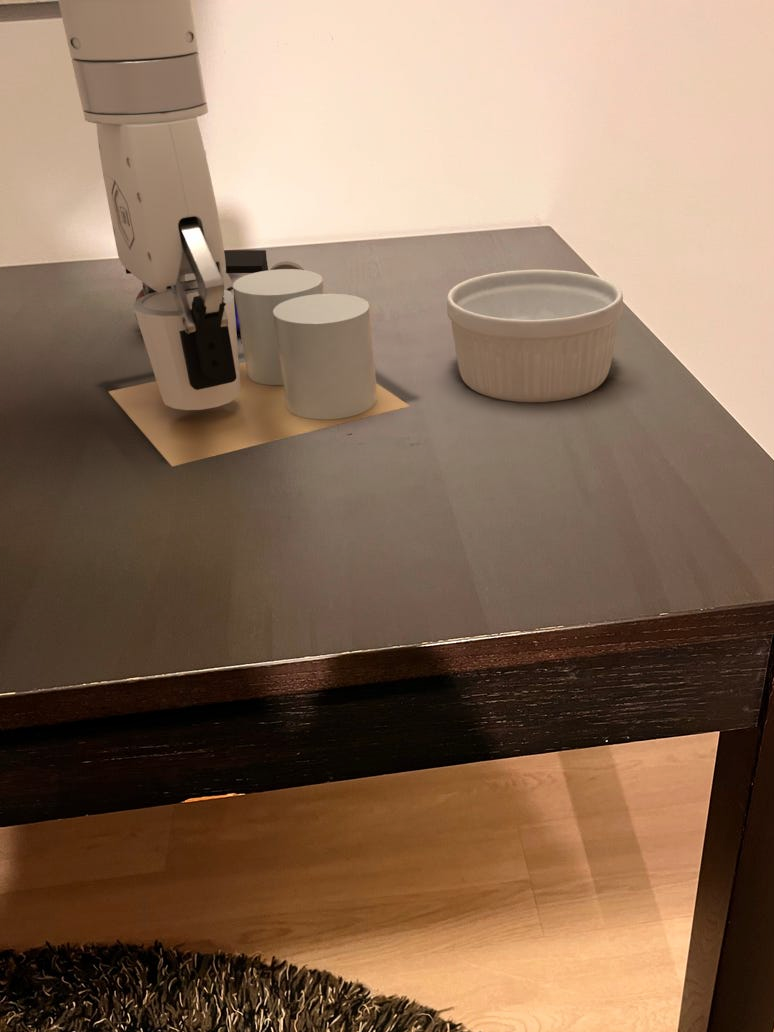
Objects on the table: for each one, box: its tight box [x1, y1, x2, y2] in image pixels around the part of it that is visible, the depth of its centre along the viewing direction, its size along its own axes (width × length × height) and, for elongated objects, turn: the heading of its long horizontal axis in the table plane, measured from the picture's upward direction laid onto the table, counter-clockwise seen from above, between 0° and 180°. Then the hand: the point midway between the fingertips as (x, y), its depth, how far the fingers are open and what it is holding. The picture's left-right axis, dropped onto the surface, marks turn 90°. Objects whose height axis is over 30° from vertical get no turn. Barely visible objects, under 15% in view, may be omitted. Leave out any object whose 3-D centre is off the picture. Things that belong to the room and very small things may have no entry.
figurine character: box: [124, 249, 305, 333], centre depth 88 cm, size 7×8×15 cm
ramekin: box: [446, 269, 624, 403], centre depth 77 cm, size 13×13×7 cm
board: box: [107, 361, 411, 467], centre depth 77 cm, size 18×16×1 cm
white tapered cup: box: [132, 288, 241, 410], centre depth 72 cm, size 7×7×7 cm
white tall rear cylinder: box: [232, 269, 325, 386], centre depth 79 cm, size 7×7×7 cm
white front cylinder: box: [273, 293, 377, 420], centre depth 73 cm, size 7×7×7 cm
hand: (195, 366), depth 73 cm, fingers closed on white tapered cup, 6 cm apart
